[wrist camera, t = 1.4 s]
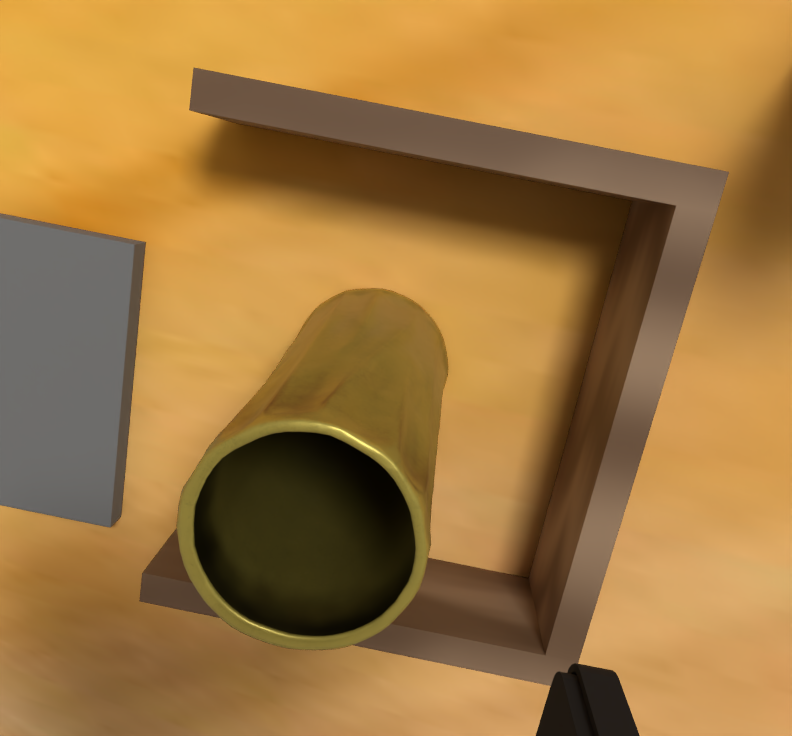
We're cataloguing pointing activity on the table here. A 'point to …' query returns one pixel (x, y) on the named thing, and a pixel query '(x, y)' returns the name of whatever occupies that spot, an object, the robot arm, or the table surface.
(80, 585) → the table surface
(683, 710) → the table surface
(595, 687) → the robot arm
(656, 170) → the open wooden frame
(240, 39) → the table surface
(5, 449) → the rubber mat
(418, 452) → the vase
